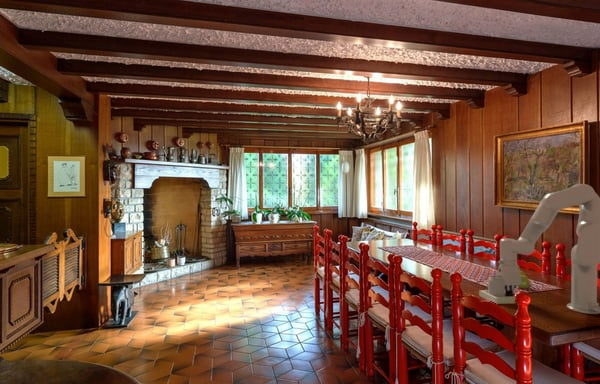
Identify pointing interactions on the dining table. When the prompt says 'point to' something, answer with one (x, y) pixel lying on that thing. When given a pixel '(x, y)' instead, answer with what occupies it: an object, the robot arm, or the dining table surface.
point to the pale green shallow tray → (496, 298)
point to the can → (496, 286)
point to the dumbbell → (524, 280)
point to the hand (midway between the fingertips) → (509, 297)
